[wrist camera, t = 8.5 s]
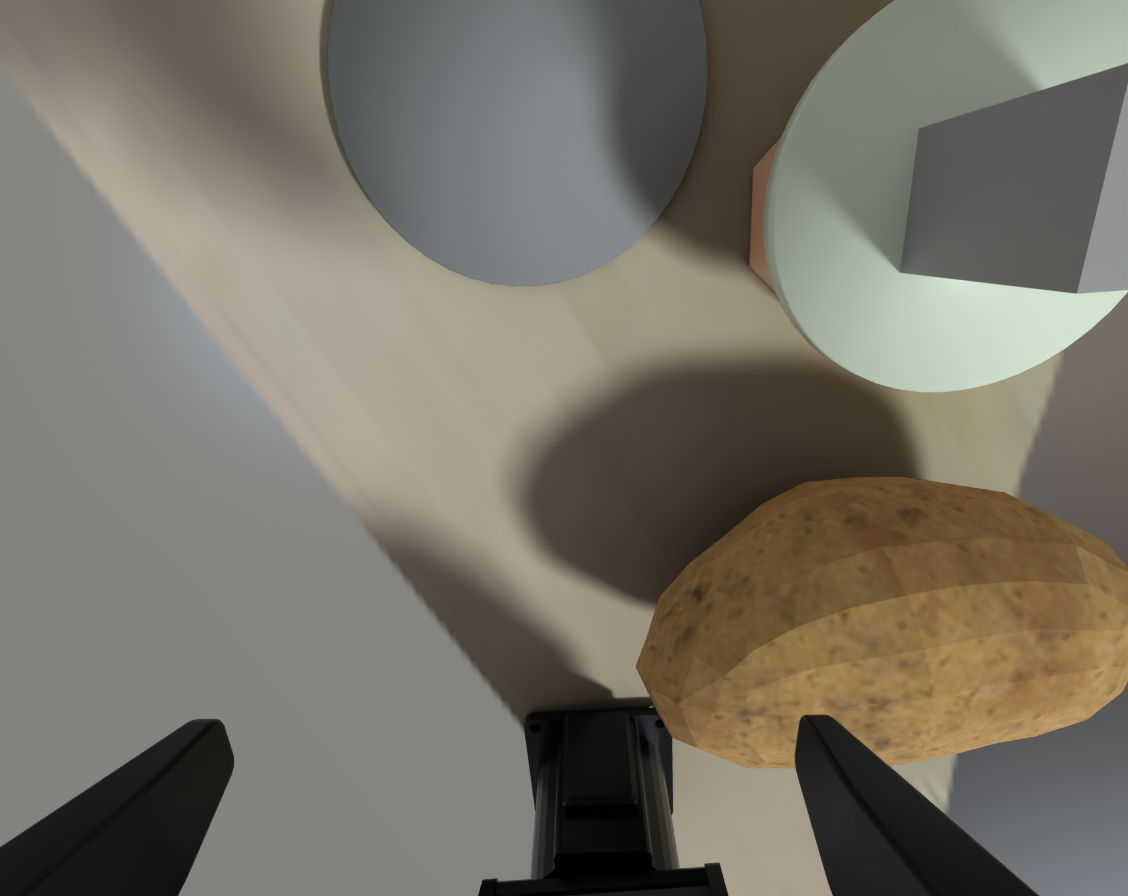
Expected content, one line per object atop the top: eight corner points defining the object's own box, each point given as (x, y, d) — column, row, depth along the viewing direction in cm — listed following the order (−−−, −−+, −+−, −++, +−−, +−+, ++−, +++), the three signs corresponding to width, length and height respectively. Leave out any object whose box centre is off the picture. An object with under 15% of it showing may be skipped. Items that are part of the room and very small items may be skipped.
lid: (1102, 372, 15) (1408, 452, 9) (755, 395, 15) (854, 484, 10) (1218, -57, 12) (1788, -316, 6) (774, -13, 12) (936, -216, 7)
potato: (598, 487, 21) (610, 624, 14) (988, 395, 20) (1241, 494, 12) (652, 683, 24) (684, 879, 17) (990, 618, 23) (1189, 803, 15)
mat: (702, 272, 18) (705, 272, 18) (373, 297, 19) (369, 298, 18) (707, -174, 14) (711, -185, 14) (292, -125, 15) (285, -135, 15)
